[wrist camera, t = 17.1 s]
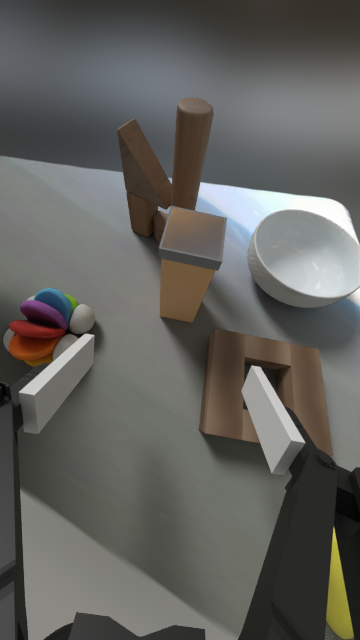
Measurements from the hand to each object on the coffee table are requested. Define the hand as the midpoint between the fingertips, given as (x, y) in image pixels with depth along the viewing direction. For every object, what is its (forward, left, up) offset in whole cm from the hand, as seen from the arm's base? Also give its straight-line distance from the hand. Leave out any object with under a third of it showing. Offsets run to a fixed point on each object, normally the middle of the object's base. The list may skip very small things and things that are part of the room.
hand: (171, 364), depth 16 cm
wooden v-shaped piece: (+1, +25, -10) cm, 27 cm away
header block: (+12, -2, -10) cm, 16 cm away
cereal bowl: (+22, +16, -11) cm, 29 cm away
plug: (+3, +11, -10) cm, 15 cm away
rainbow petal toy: (-14, +7, -11) cm, 19 cm away
